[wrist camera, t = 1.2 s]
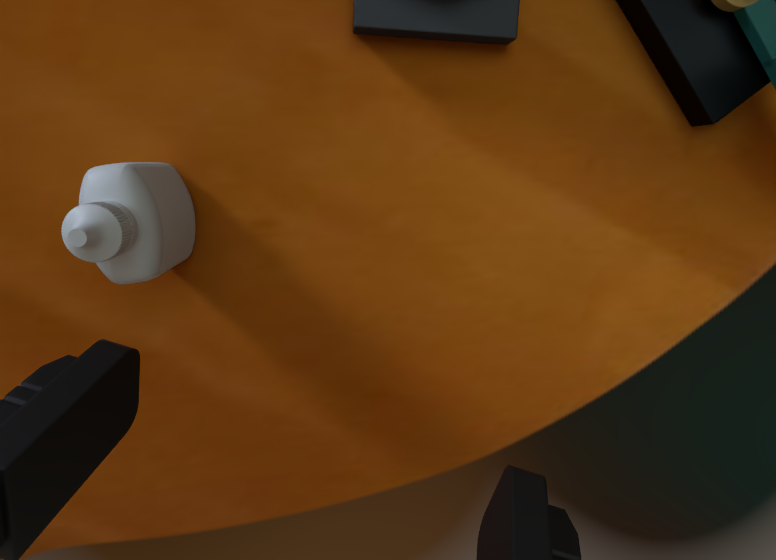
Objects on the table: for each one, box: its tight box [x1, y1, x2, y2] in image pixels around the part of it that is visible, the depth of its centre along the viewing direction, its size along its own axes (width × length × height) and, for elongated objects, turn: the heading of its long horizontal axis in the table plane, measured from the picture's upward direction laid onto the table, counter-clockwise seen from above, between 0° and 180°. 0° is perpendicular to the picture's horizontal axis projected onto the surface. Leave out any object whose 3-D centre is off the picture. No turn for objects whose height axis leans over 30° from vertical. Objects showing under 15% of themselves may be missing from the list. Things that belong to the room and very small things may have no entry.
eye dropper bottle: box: [61, 162, 196, 285], centre depth 28 cm, size 4×6×12 cm
